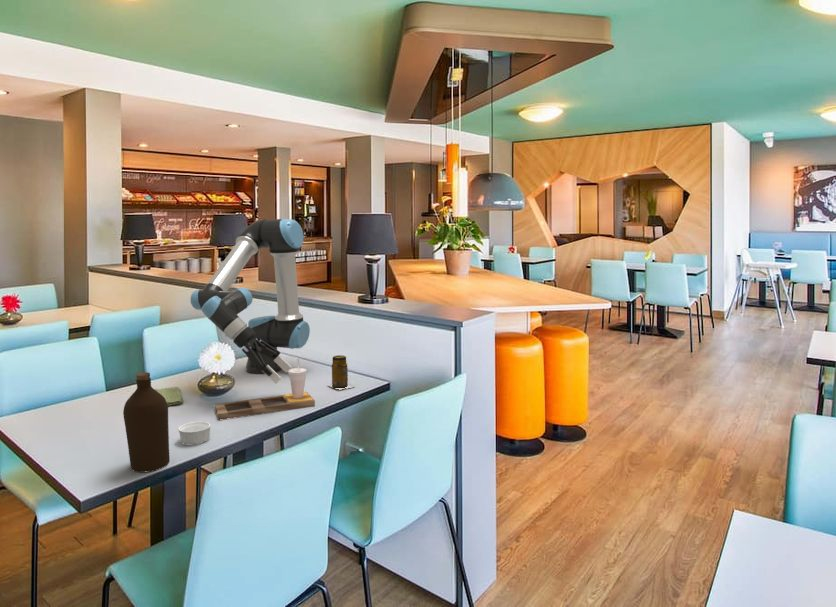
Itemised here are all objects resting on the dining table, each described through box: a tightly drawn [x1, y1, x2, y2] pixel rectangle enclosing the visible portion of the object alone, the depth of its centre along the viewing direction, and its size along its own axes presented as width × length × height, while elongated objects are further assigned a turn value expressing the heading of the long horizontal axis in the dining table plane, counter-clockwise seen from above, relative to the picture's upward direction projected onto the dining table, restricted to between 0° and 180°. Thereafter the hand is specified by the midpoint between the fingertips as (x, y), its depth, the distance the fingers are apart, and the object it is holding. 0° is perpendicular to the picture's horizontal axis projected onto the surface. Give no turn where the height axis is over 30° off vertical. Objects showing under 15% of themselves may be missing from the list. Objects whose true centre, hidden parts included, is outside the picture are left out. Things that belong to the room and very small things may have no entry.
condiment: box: [331, 354, 349, 391], centre depth 218 cm, size 7×8×12 cm
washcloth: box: [154, 387, 185, 407], centre depth 203 cm, size 13×18×3 cm
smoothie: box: [287, 358, 308, 398], centre depth 198 cm, size 6×6×14 cm
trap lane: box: [214, 391, 316, 421], centre depth 195 cm, size 11×32×2 cm, turn 115°
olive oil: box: [122, 371, 170, 473], centre depth 148 cm, size 11×11×25 cm
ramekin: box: [177, 421, 211, 445], centre depth 167 cm, size 9×9×4 cm
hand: (284, 375), depth 198 cm, fingers open, 13 cm apart
